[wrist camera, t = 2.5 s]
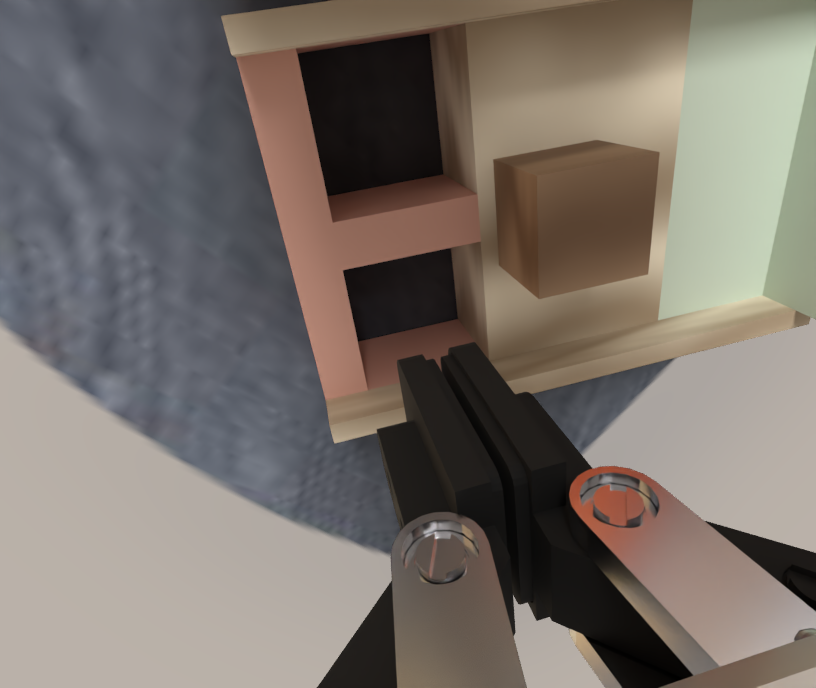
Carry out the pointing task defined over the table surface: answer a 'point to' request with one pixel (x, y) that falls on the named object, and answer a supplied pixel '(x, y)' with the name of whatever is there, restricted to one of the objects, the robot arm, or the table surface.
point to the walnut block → (575, 215)
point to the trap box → (544, 129)
